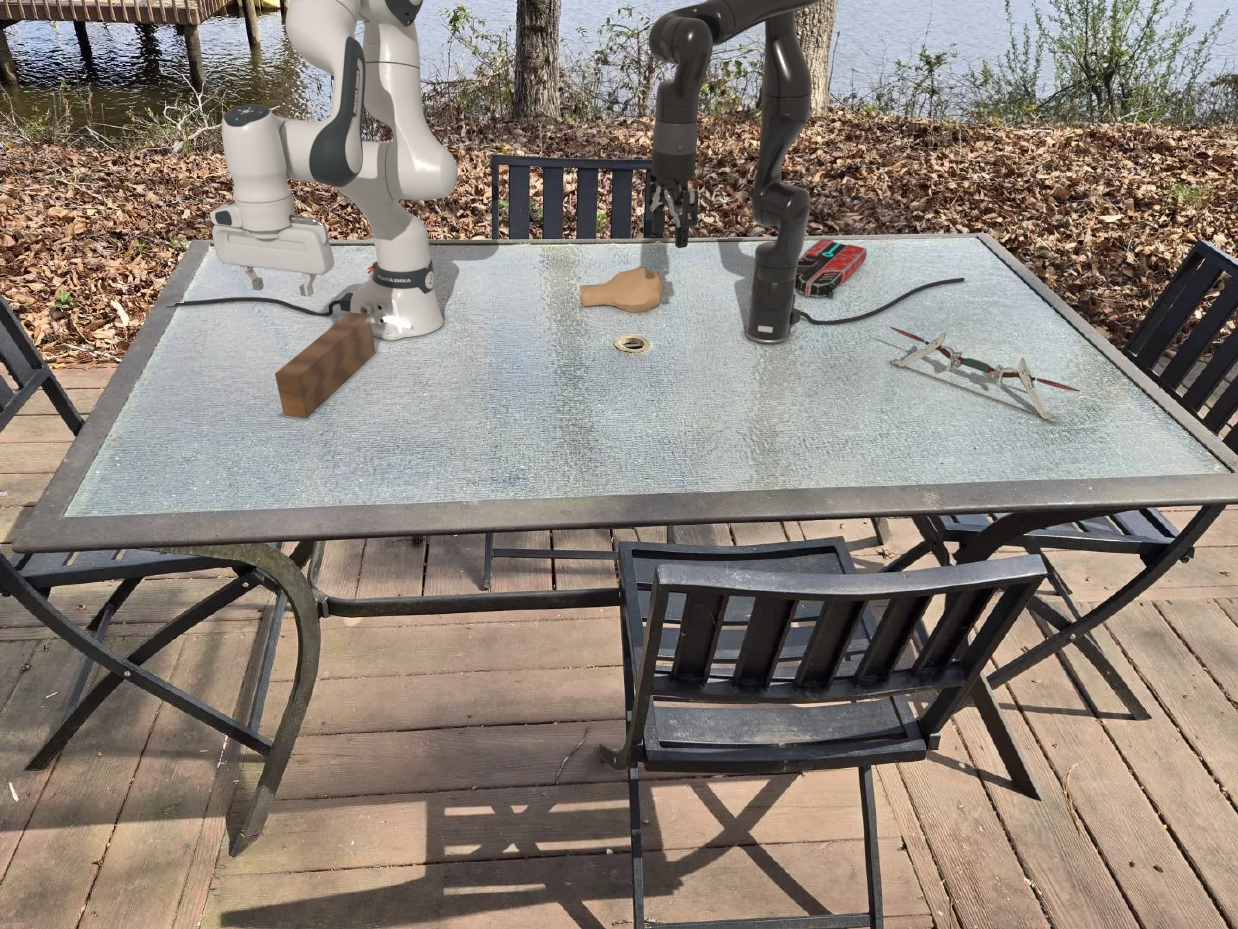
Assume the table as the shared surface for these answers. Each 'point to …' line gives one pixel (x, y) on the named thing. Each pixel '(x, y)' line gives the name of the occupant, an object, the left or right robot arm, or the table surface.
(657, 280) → the squash
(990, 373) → the bow
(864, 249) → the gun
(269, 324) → the table surface
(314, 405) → the bar
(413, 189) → the left robot arm
